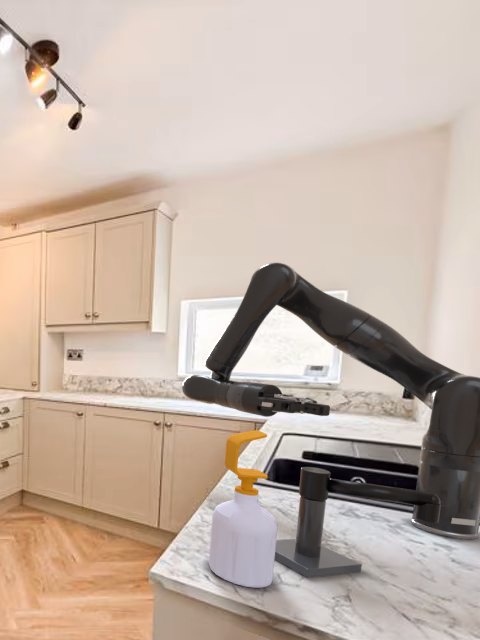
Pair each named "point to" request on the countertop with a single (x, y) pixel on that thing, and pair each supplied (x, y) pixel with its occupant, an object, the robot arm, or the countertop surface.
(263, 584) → the soap bottle
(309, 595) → the countertop surface
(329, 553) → the faucet base
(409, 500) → the spout
